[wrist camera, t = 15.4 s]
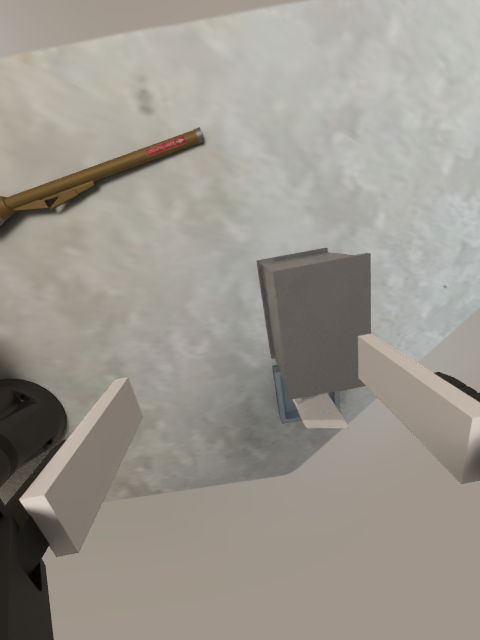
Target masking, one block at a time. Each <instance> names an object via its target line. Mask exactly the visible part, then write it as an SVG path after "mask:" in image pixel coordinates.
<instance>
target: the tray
mask: <svg viewBox="0 0 480 640" xmlns="http://www.w3.org/2000/svg"><path fill="white" fill-rule="evenodd" d="M272 368H273V375H274V381H275V388H276V395H277V401H278V408H279V415H280V418H281V421H282V424H284V423H289V422H294V421H300V420H302V419H301V417H300V414H299V412H298V410H297V407H296V405H295V403H294V402H293V400H290V399H289V397H288V391H287V385H286V383H285V380H284V378H283V376H282V373H281V371H280V368H279V366H278V365H276V366H272ZM327 394H328V395H329V397H330V398H331V400H332V401H333V403H334V404H335V406H336V407H337V409H338V410H339V412H340V401H339V391H335V392H330V393H327Z"/></svg>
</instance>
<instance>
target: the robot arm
mask: <svg viewBox="0 0 480 640" xmlns="http://www.w3.org/2000/svg"><path fill="white" fill-rule="evenodd" d="M358 378H359V379H360V380H361V381H362V382H363V383H364V384H365V385H366V386H367V387H368V388H369V389H370V390H371V391H372V392H373V393H374V395H375V396H376V397H377V398H378V399H379V400H380V401H381V402H382V403H383V404H384V405H385V406H386V407H387V408H388V409H389V410H390V411H391V412H392V413H393V414H394V415H395V416H396V417H397V418H398V419H399V420H400V421H401V422H402V423H403V424H404V425H405V426H406V428H408V430H410V432H411V433H413V435H414V436H415V437H416V438H417V439H418V440H419V441H420V442H421V443H422V444H423V445H424V446H425V447H426V448H427V449H428V450H429V451H430V452H431V453H432V454H433V455H434V456H435V457H436V458H437V459H438V461H439V462H440V463H441V464H442V465H444V467H445V468H446V469H447V470H448V471H449V472H450V473H451V474H452V475H453V476H454V477H455V478H456V479H457V480H458V481H459V482H460V483H461V484H463V483H469V482H474V481H480V393H477V391H475V390H474V389H472V388H471V387H467V386H466V385H465V384H464V383H462V382H460V381H459V380H457V379H455V378H454V377H451V376H448V375H446V374H443V373H440V372H436V373H432V372H431V371H429V370H428V369H426V368H425V367H423V366H421V365H420V364H418V363H417V362H415V361H414V360H412V359H410V358H409V357H407V356H406V355H404V354H403V353H401V352H399V351H398V350H396V349H395V348H393V347H392V346H390V345H388V344H387V343H385V342H384V341H382V340H381V339H379V338H377V337H376V336H374V335H373V334H366V335H361V336H358ZM142 417H143V416H142V413H141V410H140V408H139V405H138V402H137V399H136V397H135V394H134V391H133V388H132V386H131V383H130V380H129V377H126V378H121V379H115V380H114V381H113V383H112V384H111V385H110V386H109V388H108V389H107V390H106V391H105V393H104V394H103V395H102V396H101V398H100V399H99V400H98V401H97V403H96V404H95V405H94V406H93V408H92V409H91V410H90V411H89V413H88V414H87V415H86V417H85V418H84V419H83V420H82V422H81V423H80V424H79V425H78V427H77V428H76V429H75V430H74V432H73V433H72V434H71V435H70V437H69V438H68V439H67V440H63V441H62V442H61V443H60V444H58V445H57V446H56V447H55V448H53V449H52V450H51V451H50V452H49V454H48V455H47V456H46V457H45V458H44V460H43V461H42V463H41V464H39V466H38V467H37V468H36V469H35V470H34V473H33V474H31V475H30V476H29V478H28V479H27V480H26V481H25V482H24V484H23V485H22V486H21V487H20V488H19V490H18V491H17V492H16V493H15V494H14V496H13V497H12V498H11V499H10V500H9V502H8V503H7V504H6V505H4V503H3V502H2V501H1V499H0V640H54V639H53V631H52V621H51V613H50V603H49V594H48V585H47V576H46V566H45V564H44V562H43V560H42V559H41V558H42V557H43V555H44V553H45V552H46V550H47V548H48V546H50V548H51V549H52V551H53V552H54V554H55V555H56V557H57V556H63V555H69V554H74V553H79V551H80V549H81V547H82V544H83V542H84V540H85V538H86V536H87V534H88V532H89V530H90V528H91V526H92V523H93V521H94V519H95V517H96V515H97V513H98V511H99V509H100V507H101V504H102V502H103V500H104V498H105V496H106V494H107V492H108V490H109V487H110V485H111V483H112V481H113V479H114V477H115V475H116V473H117V470H118V468H119V466H120V464H121V462H122V460H123V458H124V456H125V453H126V451H127V449H128V447H129V445H130V443H131V441H132V439H133V437H134V434H135V432H136V430H137V428H138V426H139V424H140V422H141V420H142ZM65 425H66V417H65V413H64V410H63V408H62V406H61V404H60V403H59V401H58V400H57V399H56V398H55V397H54V396H53V395H52V394H51V393H50V392H48V391H47V390H46V389H44V388H42V387H40V386H38V385H36V384H34V383H31V382H28V381H24V380H18V379H5V380H0V488H1V486H2V485H3V484H4V483H5V482H6V481H7V480H8V479H9V477H10V476H11V475H12V474H13V473H14V472H15V471H16V470H17V469H19V468H20V467H22V466H23V465H25V464H26V463H28V462H29V461H31V460H32V459H34V458H36V457H37V456H39V455H40V454H42V453H43V452H45V451H46V450H48V449H49V448H50V447H51V446H52V445H53V444H54V443H55V442H56V441H57V439H58V438H59V437H60V436H61V435H62V433H63V431H64V429H65Z"/></svg>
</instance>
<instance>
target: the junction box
mask: <svg viewBox="0 0 480 640" xmlns="http://www.w3.org/2000/svg"><path fill="white" fill-rule="evenodd" d="M257 268H258V274H259V281H260V288H261V294H262V301H263V308H264V314H265V321H266V328H267V334H268V341H269V348H270V355H271V358H275V359H276V361H277V364H278V366H279V368H280V371H281V373H282V376H283V378H284V380H285V383H286V385H287V391H288V397H289V399H290V400H292V399H297V398H303V397H308V396H313V395H319V394H324V393H330V392H335V391H341V390H346V389H352V388H357V387H362V386H366V385H365V384H364V383H363V382H362V381H361V380H360V379H359V378H358V336H361V335H366V334H371V273H370V253H364V254H359V255H347V254H338V253H329V252H328V251H327V248H322V249H317V250H311V251H306V252H301V253H295V254H290V255H284V256H279V257H274V258H268V259H263V260H257Z"/></svg>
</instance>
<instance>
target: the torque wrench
mask: <svg viewBox="0 0 480 640" xmlns="http://www.w3.org/2000/svg"><path fill="white" fill-rule="evenodd" d="M203 142H204V140H203V136H202V133H201V130H200V128H197V129H194V130H193V131H190V132H187V133H184V134H182V135H179V136H176V137H173V138H170V139H168V140H165V141H162V142H159V143H157V144H154V145H151V146H148V147H146V148H143V149H140V150H137V151H134V152H132V153H129V154H126V155H123V156H121V157H118V158H115V159H112V160H110V161H107V162H104V163H101V164H98V165H96V166H93V167H90V168H87V169H85V170H82V171H79V172H76V173H74V174H71V175H68V176H65V177H62V178H60V179H57V180H54V181H51V182H49V183H46V184H43V185H40V186H37V187H35V188H32V189H29V190H26V191H24V192H21V193H18V194H15V195H13V196H10V197H2V196H0V225H2V224H3V223H4V222H5V221H6V220H7V219H8V218H9V217H11V216H12V215H13V214H14V213H15V212H16V211H18V210H31V209H44V208H50V210H52V209H54V208H56V207H57V206H59V205H61V204H63V203H65V202H67V201H69V200H71V199H73V198H75V197H76V196H78V195H79V194H80V193H82V192H84V191H86V190H87V189H89V188H91V187H93V186H95V182H94V181H96V180H99V179H102V178H105V177H107V176H110V175H113V174H116V173H119V172H121V171H124V170H127V169H130V168H132V167H135V166H138V165H141V164H143V163H146V162H149V161H152V160H155V159H157V158H160V157H163V156H166V155H168V154H171V153H174V152H177V151H180V150H182V149H185V148H188V147H191V146H193V145H196V144H200V143H203ZM54 198H57V200H56V201H55V202H54V204H53V205H52V206H50V205H49V203H48V202H47V200H50V199H54Z"/></svg>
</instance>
